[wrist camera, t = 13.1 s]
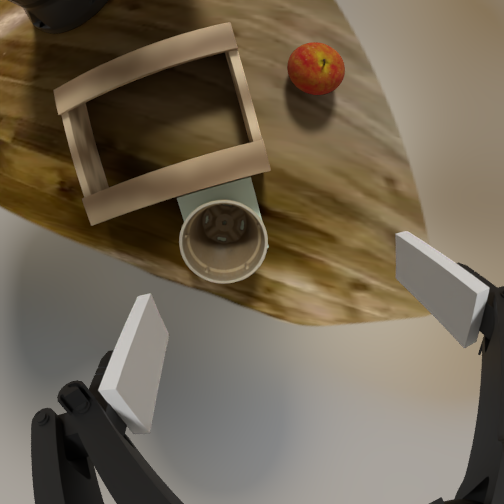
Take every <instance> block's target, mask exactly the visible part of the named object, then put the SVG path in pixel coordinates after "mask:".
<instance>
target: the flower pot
mask: <svg viewBox="0 0 504 504" xmlns="http://www.w3.org/2000/svg"><path fill="white" fill-rule="evenodd" d="M223 204H229V205H232V206H227V205H223ZM206 216H208V219H209V220H208V222H207V223H205V222H206ZM224 221H225V222H226V224H225V225H224V224H223V222H224ZM242 221H244V228H243V230H241V229H240V227H241V222H242ZM218 237H223V238H226V241H221V240H218V239H217V238H218ZM179 246H180V252H181V255H182V257H183V259H184V261H185V263H186V264H187V266H188V267H189V268H190V269H191V270H192V271H193V272H194V273H195V274H196V275H198V276H199V277H201V278H203V279H205V280H207V281H210V282H214V283H222V284H226V283H234V282H237V281H240V280H243V279H245V278H247V277H248V276H250V275H251V274H253V273H254V272H255V271H256V270H257V269H258V268H259V267H260V265H261V264H262V262H263V260H264V258H265V255H266V252H267V246H268V237H267V232H266V228H265V226H264V224H263V222H262V220H261V219H260V217H259V216H258V215H257V214H256V213H255V212H254V211H253V210H252V209H251V208H249V207H248V206H246V205H244V204H242V203H240V202H236V201H232V200H228V199H221V200H215V201H211V202H207V203H205V204H202V205H201V206H199V207H197V208H196V209H195V210H194V211H192V212H191V214H190V215H189V216H188V217H187V218H186V220H185V222H184V224H183V226H182V228H181V231H180V237H179Z"/></svg>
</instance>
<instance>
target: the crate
mask: <svg viewBox="0 0 504 504" xmlns="http://www.w3.org/2000/svg"><path fill="white" fill-rule="evenodd" d="M221 53H225V55H226V59H227V62H228V66H229V69H230V73H231V76H232V80H233V83H234V87H235V91H236V94H237V98H238V102H239V105H240V109H241V113H242V116H243V120H244V124H245V127H246V131H247V135H248V139H249V143H247V144H243V145H239V146H235V147H231V148H227V149H224V150H220V151H217V152H213V153H209V154H206V155H203V156H199V157H196V158H193V159H189V160H186V161H183V162H180V163H177V164H173V165H170V166H167V167H164V168H161V169H158V170H155V171H153V172H150V173H147V174H144V175H141V176H138V177H136V178H133V179H130V180H127V181H125V182H122V183H119V184H117V185H114V186H112V187H109V186H108V183H107V180H106V177H105V173H104V170H103V167H102V164H101V160H100V157H99V153H98V150H97V146H96V143H95V139H94V135H93V131H92V128H91V124H90V120H89V116H88V111H87V107H86V102H88V101H90V100H92V99H94V98H96V97H98V96H100V95H102V94H105V93H107V92H109V91H111V90H114V89H116V88H118V87H120V86H123V85H125V84H128V83H130V82H133V81H135V80H138V79H140V78H143V77H146V76H148V75H151V74H154V73H157V72H159V71H162V70H165V69H168V68H171V67H174V66H177V65H181V64H184V63H187V62H191V61H194V60H198V59H201V58H205V57H209V56H212V55H216V54H221ZM53 91H54V96H55V101H56V106H57V111H58V115H62V120H63V124H64V128H65V132H66V136H67V140H68V144H69V148H70V151H71V155H72V159H73V162H74V166H75V169H76V172H77V176H78V179H79V182H80V185H81V188H82V191H83V194H84V197H85V198H83V199H82V201H83V204H84V207H85V210H86V212H87V215H88V218H89V221H90V223H91V226H92V225H95V224H98V223H100V222H103V221H106V220H109V219H111V218H114V217H117V216H120V215H123V214H126V213H128V212H131V211H134V210H137V209H140V208H143V207H146V206H149V205H152V204H155V203H158V202H161V201H164V200H168V199H171V198H174V197H177V196H180V195H184V194H187V193H190V192H194V191H197V190H200V189H204V188H207V187H211V186H214V185H218V184H221V183H225V182H228V181H232V180H236V179H239V178H243V177H247V176H251V175H255V174H259V173H263V172H267V171H271V169H270V165H269V161H268V157H267V153H266V149H265V145H264V141H263V140H262V137H261V133H260V129H259V125H258V121H257V118H256V114H255V110H254V106H253V103H252V99H251V95H250V92H249V88H248V85H247V81H246V77H245V74H244V70H243V67H242V63H241V60H240V56H239V53H238V47H237V43H236V40H235V36H234V33H233V30H232V27H231V23H230V22H228V23H223V24H219V25H214V26H210V27H206V28H202V29H198V30H195V31H191V32H188V33H184V34H181V35H178V36H174V37H171V38H168V39H165V40H162V41H159V42H156V43H153V44H151V45H148V46H145V47H142V48H140V49H137V50H135V51H132V52H130V53H127V54H125V55H122V56H120V57H118V58H115V59H113V60H111V61H109V62H106V63H104V64H102V65H100V66H98V67H96V68H94V69H92V70H90V71H88V72H86V73H84V74H82V75H80V76H78V77H76V78H74V79H72V80H70V81H69V82H67V83H65V84H63V85H62V86H60V87H58V88H56V89H55V90H53Z"/></svg>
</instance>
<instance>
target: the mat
mask: <svg viewBox="0 0 504 504" xmlns="http://www.w3.org/2000/svg"><path fill="white" fill-rule="evenodd" d="M221 199H228V200H232V201H236V202H240V203H242V204H244V205H246V206H248V207H249V208H251V209H252V210H253V211H254V212H255V213H256V214H257V215H258V216H259V217H260V219H261V220H262V218H261V214H260V211H259V207H258V203H257V199H256V195H255V191H254V187H253V183H252V180H251V177H246V178H242V179H238V180H235V181H231V182H227V183H224V184H220V185H217V186H213V187H210V188H206V189H203V190H199V191H196V192H192V193H189V194H186V195H183V196H179V197H177V201H178V204H179V207H180V210H181V214H182V217H183V220H184V222H185V220H186V218H187V217H188V216H189V215H190V214H191V212H192V211H194V210H195V209H196V208H197V207H199V206H201V205H202V204H205V203H207V202H211V201H215V200H221ZM223 205H227V206H232V205H229V204H223ZM208 220H209V219H208V216H206V222H205V223H207V222H208ZM223 224H224V225H225V224H226V222H225V221H224V222H223ZM243 228H244V221H242V222H241V227H240V229H241V230H243ZM217 239H218V240H221V241H226V238H223V237H218V238H217ZM268 247H269V246H267V248H268Z"/></svg>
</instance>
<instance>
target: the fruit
mask: <svg viewBox="0 0 504 504" xmlns="http://www.w3.org/2000/svg"><path fill="white" fill-rule="evenodd" d="M287 68H288V74H289V77H290V79H291V81H292V82H293V84H294V85H295V86H296V87H297V88H299V89H300V90H301V91H303V92H305V93H308V94H313V95H323V94H327V93H329V92H332V91H333V90H335V89H336V88H337V87H338V86H339V85H340V84H341V82H342V80H343V78H344V73H345V67H344V62H343V60H342V58H341V56H340V55H339V54H338V52H336V51H335V50H334V49H333V48H331V47H330V46H328V45H325V44H322V43H307V44H304V45H302V46H300V47H298V48H297V49H296V50H294V52H293V53H292V54H291V56H290V58H289V61H288V66H287Z"/></svg>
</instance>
